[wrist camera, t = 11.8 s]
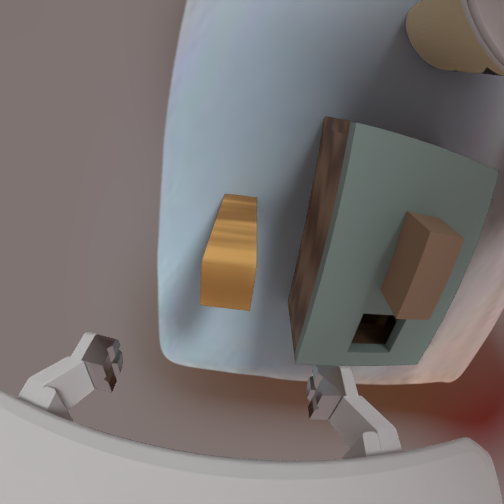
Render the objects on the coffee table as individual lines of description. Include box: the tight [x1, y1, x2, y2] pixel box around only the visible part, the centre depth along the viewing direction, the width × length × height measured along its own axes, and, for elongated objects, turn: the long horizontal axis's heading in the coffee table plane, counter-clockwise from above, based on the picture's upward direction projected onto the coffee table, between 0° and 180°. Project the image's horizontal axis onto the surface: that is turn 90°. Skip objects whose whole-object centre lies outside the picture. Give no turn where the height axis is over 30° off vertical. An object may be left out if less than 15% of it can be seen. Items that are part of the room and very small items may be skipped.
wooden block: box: [200, 194, 257, 311], centre depth 23 cm, size 3×3×13 cm
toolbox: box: [288, 117, 398, 354], centre depth 26 cm, size 20×13×8 cm, turn 173°
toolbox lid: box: [294, 121, 499, 366], centre depth 20 cm, size 20×13×5 cm, turn 173°
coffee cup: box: [406, 0, 504, 76], centre depth 14 cm, size 9×9×12 cm
